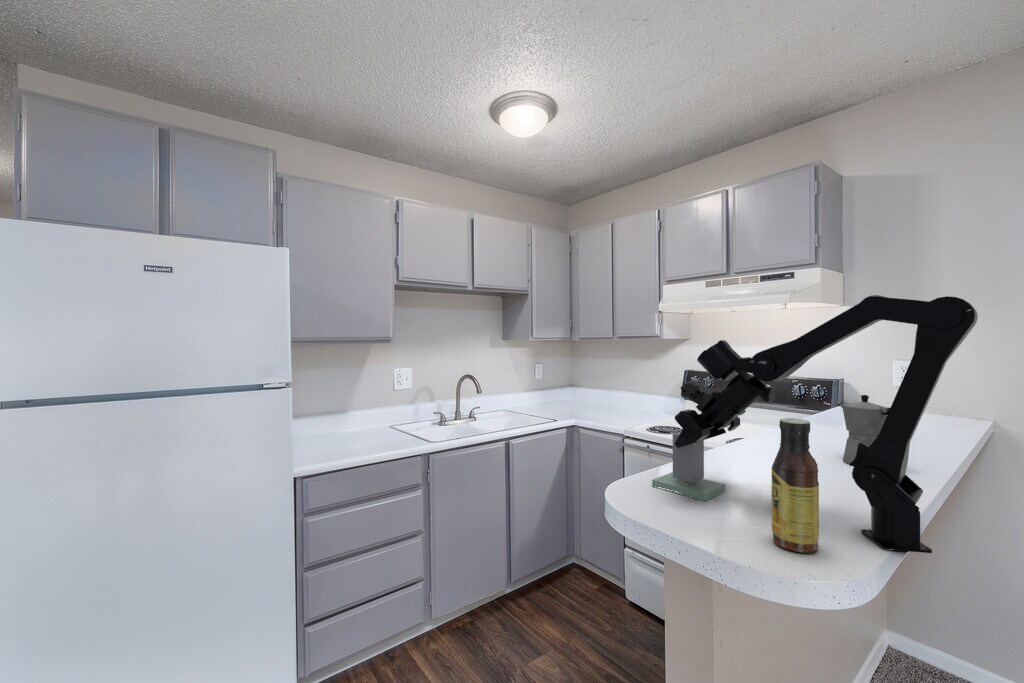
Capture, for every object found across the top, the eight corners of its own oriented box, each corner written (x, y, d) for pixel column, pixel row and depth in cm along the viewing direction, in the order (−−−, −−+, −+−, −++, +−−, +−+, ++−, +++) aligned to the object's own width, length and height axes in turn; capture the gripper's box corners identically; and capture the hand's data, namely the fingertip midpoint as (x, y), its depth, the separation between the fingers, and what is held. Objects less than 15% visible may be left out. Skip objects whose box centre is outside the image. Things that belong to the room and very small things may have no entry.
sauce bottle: (775, 533, 74) (775, 414, 74) (820, 544, 70) (820, 418, 70) (768, 547, 69) (767, 420, 69) (816, 560, 65) (816, 425, 65)
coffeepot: (826, 459, 119) (826, 392, 119) (853, 456, 122) (853, 391, 122) (887, 476, 104) (887, 400, 104) (917, 473, 107) (917, 398, 107)
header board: (725, 491, 94) (725, 472, 94) (705, 501, 88) (705, 481, 88) (673, 478, 103) (673, 461, 103) (652, 486, 97) (652, 468, 97)
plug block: (704, 477, 96) (703, 433, 96) (692, 482, 92) (692, 436, 92) (684, 473, 99) (684, 430, 99) (672, 477, 96) (672, 433, 96)
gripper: (725, 367, 99) (679, 410, 107) (683, 371, 87) (635, 419, 95) (763, 405, 93) (711, 448, 101) (724, 416, 81) (669, 464, 89)
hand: (682, 444), depth 97 cm, fingers closed on plug block, 5 cm apart
